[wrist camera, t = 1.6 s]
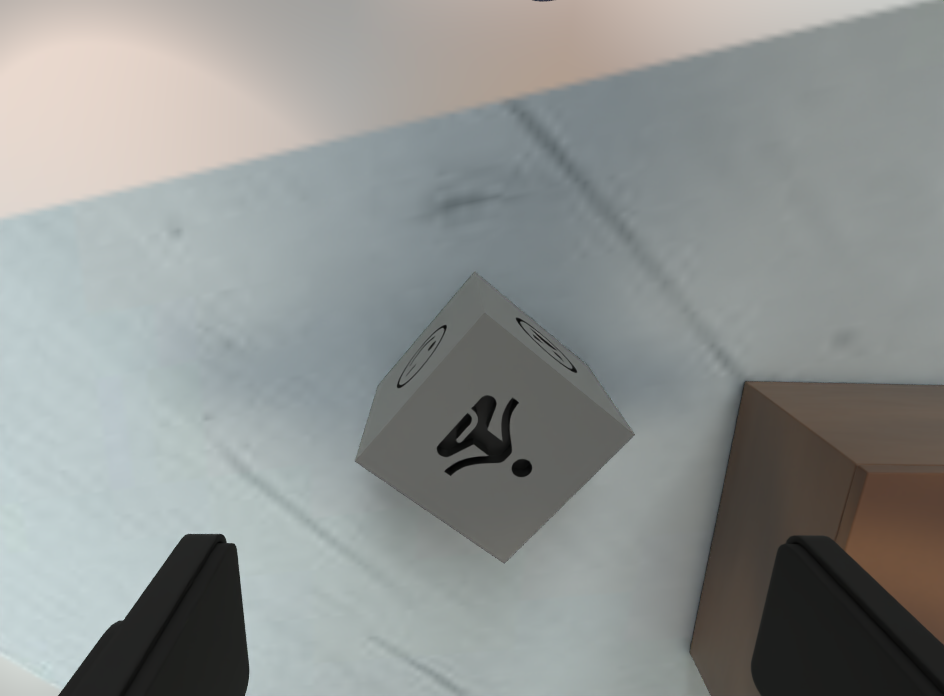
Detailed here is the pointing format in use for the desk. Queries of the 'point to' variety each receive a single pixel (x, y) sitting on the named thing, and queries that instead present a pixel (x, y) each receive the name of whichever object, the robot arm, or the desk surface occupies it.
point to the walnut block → (823, 506)
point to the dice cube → (490, 422)
